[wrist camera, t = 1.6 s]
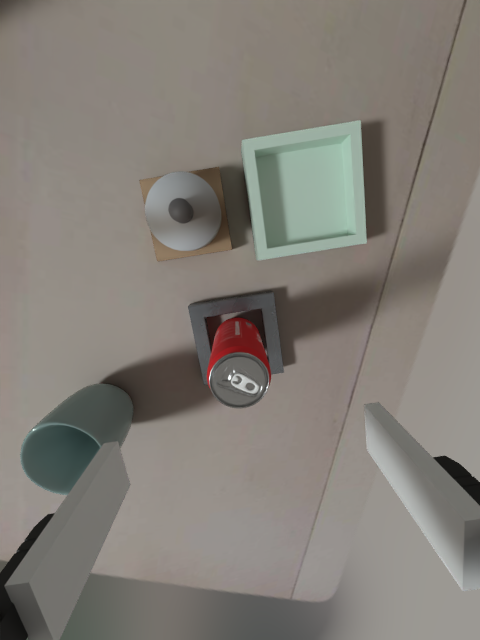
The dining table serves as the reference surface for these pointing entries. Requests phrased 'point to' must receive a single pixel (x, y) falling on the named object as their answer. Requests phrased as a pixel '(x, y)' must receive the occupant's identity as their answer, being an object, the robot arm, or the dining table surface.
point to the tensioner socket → (231, 306)
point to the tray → (305, 190)
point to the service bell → (186, 213)
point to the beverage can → (238, 364)
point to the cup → (75, 436)
